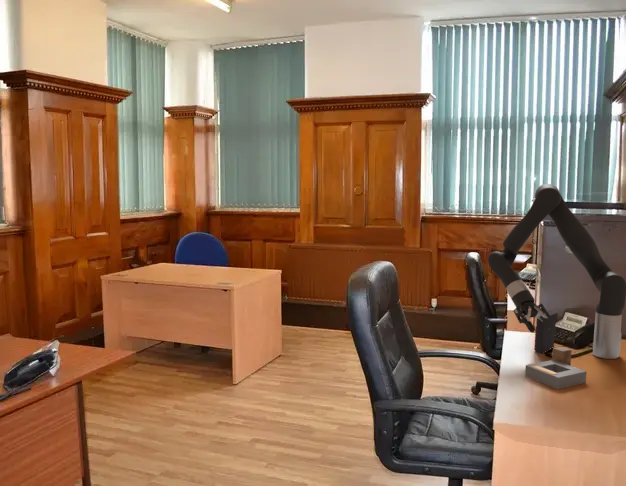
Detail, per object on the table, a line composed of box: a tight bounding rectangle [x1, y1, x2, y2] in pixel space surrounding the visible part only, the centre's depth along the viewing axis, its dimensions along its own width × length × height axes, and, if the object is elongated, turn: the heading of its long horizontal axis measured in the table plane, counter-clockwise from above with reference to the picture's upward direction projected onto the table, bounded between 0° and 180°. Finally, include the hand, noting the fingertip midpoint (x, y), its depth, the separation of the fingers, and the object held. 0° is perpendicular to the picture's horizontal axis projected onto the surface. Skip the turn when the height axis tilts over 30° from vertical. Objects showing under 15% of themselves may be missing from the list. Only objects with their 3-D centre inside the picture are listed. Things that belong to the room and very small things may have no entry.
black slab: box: [533, 311, 558, 354], centre depth 245 cm, size 11×4×15 cm, turn 134°
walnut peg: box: [551, 346, 573, 366], centre depth 221 cm, size 4×4×8 cm
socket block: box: [524, 359, 587, 390], centre depth 212 cm, size 14×14×4 cm
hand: (541, 329), depth 229 cm, fingers open, 8 cm apart
